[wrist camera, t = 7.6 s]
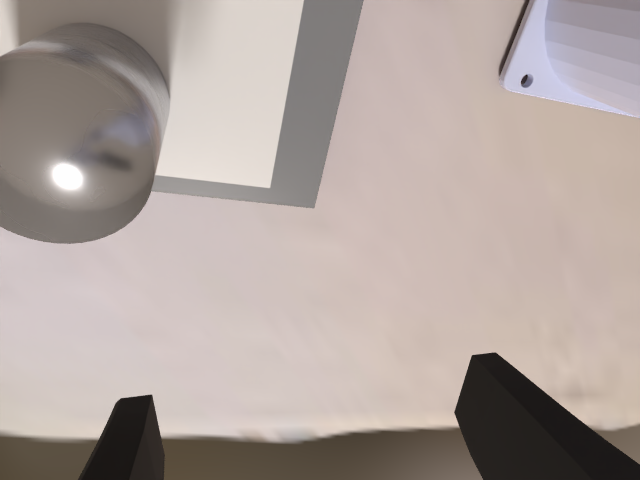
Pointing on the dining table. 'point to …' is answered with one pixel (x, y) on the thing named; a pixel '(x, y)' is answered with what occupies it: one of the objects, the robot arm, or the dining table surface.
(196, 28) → the scale
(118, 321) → the dining table surface
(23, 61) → the cylinder
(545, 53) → the robot arm
